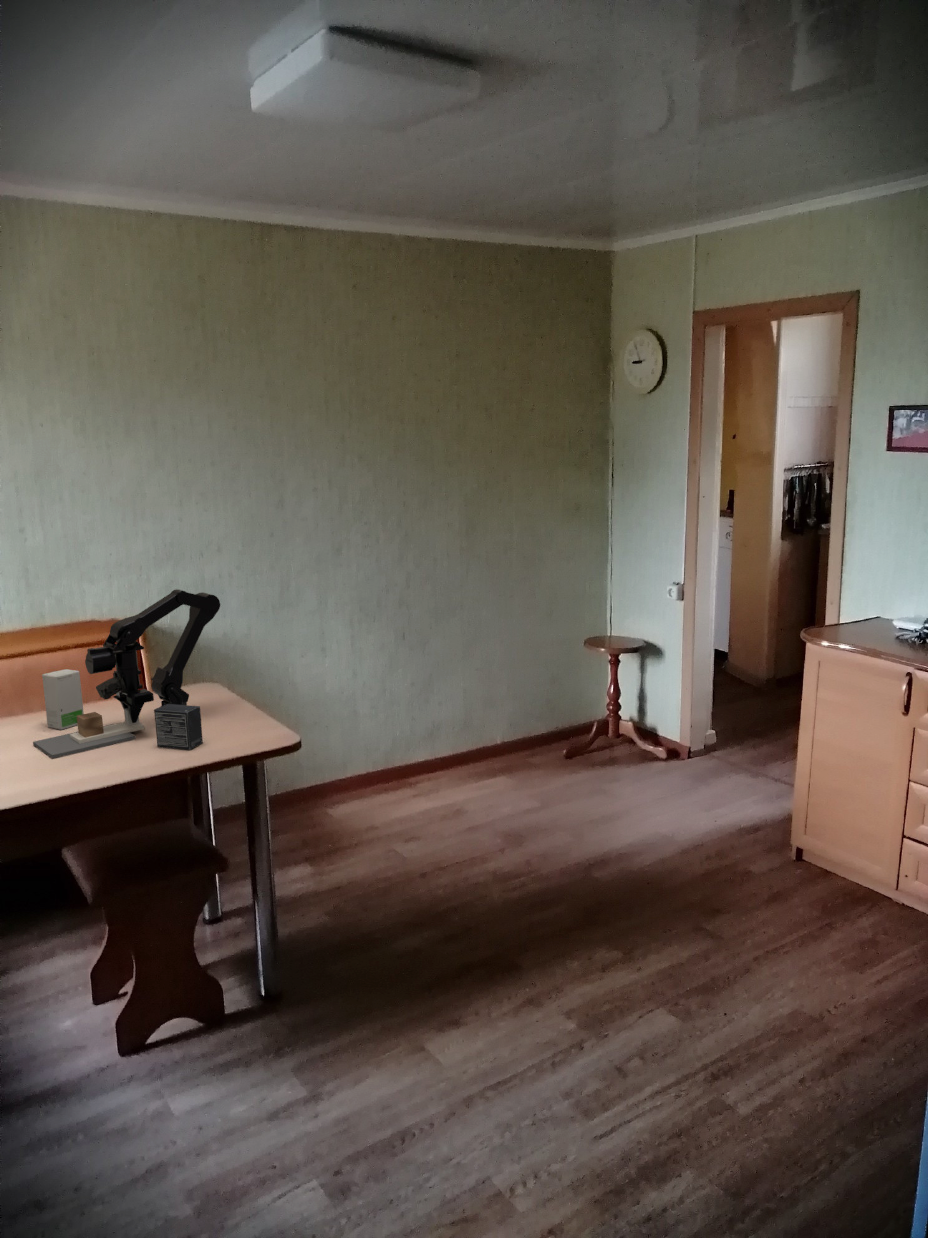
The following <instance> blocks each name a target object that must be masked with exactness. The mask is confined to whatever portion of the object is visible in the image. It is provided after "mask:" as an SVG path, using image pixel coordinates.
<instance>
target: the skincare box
mask: <svg viewBox="0 0 928 1238" xmlns="http://www.w3.org/2000/svg"><path fill="white" fill-rule="evenodd" d="M41 676H42V677H41V678H42V687H43V695H44V702H45V703H44V706H45V713H46V714H45V715H46V723H47V725H46V726H47V728H49V729H54V730H60V731H62V730H65V729H68V728H73V727H75V726H78V724H77V716H78V715H82V714H85V713H84V704H83V694H82V693H83V692H82V685H81V674H80V671H79V670H74V669H68V668H66V669H61V670H57V671H56V670H55V671H51V672H47V673H42V674H41Z"/></svg>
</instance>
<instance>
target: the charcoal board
mask: <svg viewBox="0 0 928 1238" xmlns="http://www.w3.org/2000/svg"><path fill="white" fill-rule="evenodd" d="M113 724H114V723H111V724H106V725H103V727H104V726H109V725H113ZM77 732H78V731H76V732H74V731H73V732H70V733H66V734H62V735H57V736H53V737H48V738H44V739H39V740H34V741H32V745H33V746H34V747H35V748H36V749H38V750H39V751H41V752H42V753H44V754H45V755H46V756H48V757H49V758H51V760H53V759H54V760H55V759H59V758H63V757H66V756H70V755H74V754H78V753H83V752H88V751H92V750H96V749H100V748H105V747H110V746H113V745H117V744H121V743H124V742H129V741H134V740H136V735H135V734H133V733H132V732H128V733H124V734H120V735H115V736H111V737H107V738H102V739H98V740H94V741H89V742H85V743H81V744H79V743H78V742H76V741H74V740H73V739H71V738H70V734H73V733H77Z"/></svg>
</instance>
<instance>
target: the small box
mask: <svg viewBox="0 0 928 1238" xmlns="http://www.w3.org/2000/svg"><path fill="white" fill-rule="evenodd" d="M160 706H161V707H160ZM160 706H159V707H157V708H154V710H153V713H154V721H155V732H156V733H155V734H156V736H155V737H156V745H157V746H156V747H157V748H162V747H163V749H164V748H165V749H175V750H185V751H190V750H193V749H195V748H197V747H198V746H200V745H202V744H203V743H204V742H203V739H204V738H203V730H202V729H203V728H202V716H201V706H199V705H188V704H187V705H176V704H166V705H164V706H162V705H160Z"/></svg>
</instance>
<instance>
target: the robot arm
mask: <svg viewBox="0 0 928 1238" xmlns="http://www.w3.org/2000/svg"><path fill="white" fill-rule="evenodd" d="M183 605H184V606H189V615H188V616H189V617H188V621H187V623H186V625H185V626H184V629H183V630H182V631H183V632H182V633H181V636H180V638H179V640H178V642H177V643H176V646H175V648H174V650H173V652H172V653H171V656H170V658H169V660H168V662H167V664H166V665H165V666H164V667H163V668H162V667H157V668H156V669H155V673H154V675H153V677H152V678H151V679H150V680H151V689H152V692H151V690H148V689H146V688H143V684H142V683H141V682H140V675H142V670H141V669H139V665H138V663H139V662H138V661H139V660H138V653H137V651H140V650H141V651H142V650H144V649H145V647H144V646H143V645H141V644H140V643H139V641H137V640H138V639H140V638H141V637H142V636H143V635H144V633H145V631H146V630H147V629H148V628H149V627H150V626H152V625H154V624H155V623H157V622H158V621H160V620H161V619H163V618H164V617H166V616H167V615H169V614H170V613H172V612H173V611H175V610H177V609H178V608H179V607H181V606H183ZM220 608H221V602H220V599H219V597H218V596H216V595H214V594H211V593H207V592H198V593H191V592H187V591H185V590H183V589H178V588H176V589H173V590H172V591H171V592H170V593H169V594H167V595H166V596H164V597H162V598H160V599H159V600H157V601H156V602H154V603H153V604H152V605H150V606H149V607H147V608H145V609H144V610H142V611H140V612H139V613H137V614H135V615H132V616H129V617H125V618H123V619H120V620H118V621H116V622H114V623H113V624H112V625H111V626H110V629H109V634H108V636H107V637H106V638H105V639H106V640H105V641H104V643H103V645H102V646H101V647H96V648H95V647H93V648H90V647H89V648H87V650H86V651H87V653H86V656H85V660H84V662H85V668H86V671H87V672H88V674H89V675H93V674H94V675H95V674H99V673H105V672H111V671H113V672H112V676H113V677H111V678H109V679H106V680H105V681H103V682H101V683H99V684H98V685H96V686H95V689H96V692H97V693H98V695H99V697H100V698H102V699H104V701H105V700H108V699H111V698H113V699H115V700H117V701H118V702H119V703H120V704H121V707H122V709H123V710H124V709H125V708H128V709H129V713H130V717H131V720H132V723H136V722H137V719H138V717H139V718H140V714H141V712H142V708H143V707H144V705H145V703H150V702H153V701H155V699H154V698H155V697H154V694H156V695H157V697H158V699H160V700H161V701H160V703H161V705H160V706H159V707H161V706H164V705H166V704H176V705H188V701H189V698H190V694H189V693H188V692H187V691H185V690H184V689H182V686H183V682H184V681H183V680H184V670H185V668H186V666H187V664H188V662H189V660H190V657H191V656H192V654H193V651H194V650H195V647H196V645H197V642H198V640H199V639H200V637H201V634H202V633H203V630H204V628H205V626H207V625H208V624H209V622H211V621H212V620H214V617H216V615H217V613H218V612H219V611H220ZM113 669H115V670H113Z"/></svg>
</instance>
